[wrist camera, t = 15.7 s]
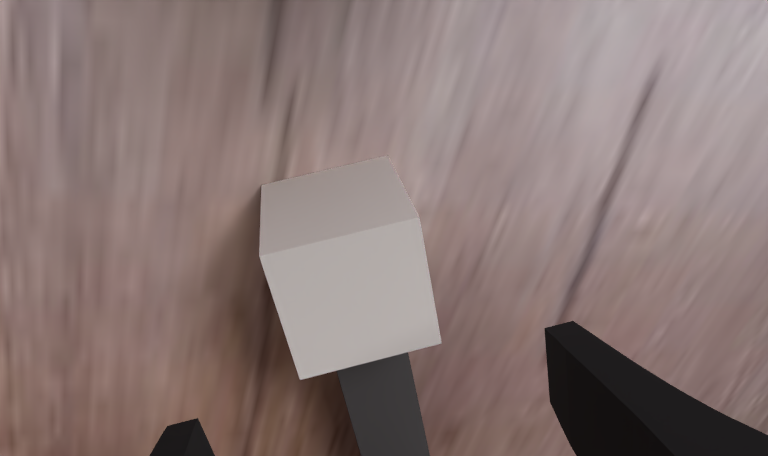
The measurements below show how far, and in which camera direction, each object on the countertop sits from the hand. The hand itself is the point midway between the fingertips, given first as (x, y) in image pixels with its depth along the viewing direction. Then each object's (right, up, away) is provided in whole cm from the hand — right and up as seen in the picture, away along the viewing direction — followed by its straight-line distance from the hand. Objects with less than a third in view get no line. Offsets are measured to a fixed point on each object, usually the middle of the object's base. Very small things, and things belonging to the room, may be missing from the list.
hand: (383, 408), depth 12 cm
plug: (0, -1, +10) cm, 10 cm away
